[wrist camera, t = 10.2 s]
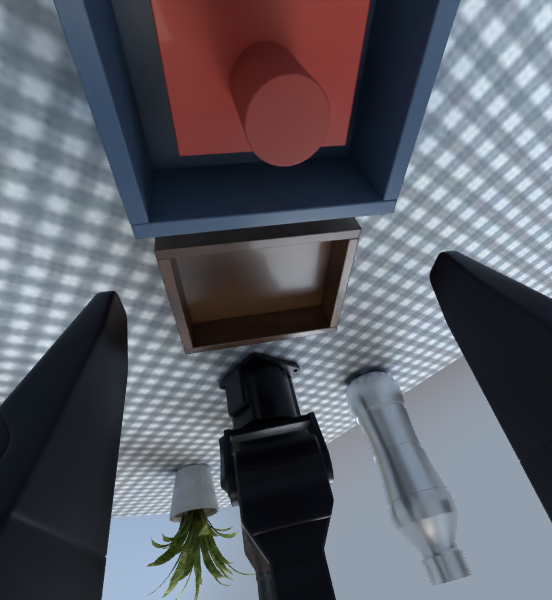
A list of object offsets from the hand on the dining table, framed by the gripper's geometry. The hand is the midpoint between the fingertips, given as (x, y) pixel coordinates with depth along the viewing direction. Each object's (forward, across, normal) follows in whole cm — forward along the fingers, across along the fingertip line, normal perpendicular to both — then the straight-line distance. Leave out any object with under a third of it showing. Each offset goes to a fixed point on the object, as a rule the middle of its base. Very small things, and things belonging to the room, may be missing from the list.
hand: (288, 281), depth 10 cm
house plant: (+13, +8, +51) cm, 54 cm away
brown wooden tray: (+13, -1, +11) cm, 17 cm away
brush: (+12, -1, -2) cm, 12 cm away
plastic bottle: (+13, -15, +31) cm, 37 cm away
